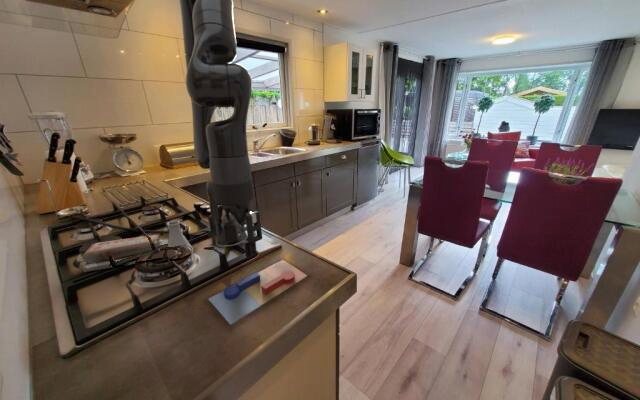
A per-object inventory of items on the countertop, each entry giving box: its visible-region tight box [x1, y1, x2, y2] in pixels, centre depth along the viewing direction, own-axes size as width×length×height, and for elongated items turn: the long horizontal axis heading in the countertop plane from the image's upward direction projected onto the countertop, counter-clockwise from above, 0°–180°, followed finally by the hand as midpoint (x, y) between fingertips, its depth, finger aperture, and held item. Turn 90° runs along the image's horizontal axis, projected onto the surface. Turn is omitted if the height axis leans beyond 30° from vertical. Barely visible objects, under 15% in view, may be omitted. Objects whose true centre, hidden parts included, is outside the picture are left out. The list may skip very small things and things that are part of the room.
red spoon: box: [262, 271, 295, 295], centre depth 60 cm, size 9×3×2 cm, turn 137°
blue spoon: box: [223, 271, 260, 300], centre depth 58 cm, size 9×3×2 cm, turn 137°
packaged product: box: [82, 234, 169, 273], centre depth 70 cm, size 18×5×10 cm
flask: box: [166, 219, 194, 253], centre depth 71 cm, size 7×7×10 cm
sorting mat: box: [208, 259, 308, 326], centre depth 60 cm, size 21×10×1 cm, turn 137°
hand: (240, 248), depth 55 cm, fingers open, 8 cm apart
